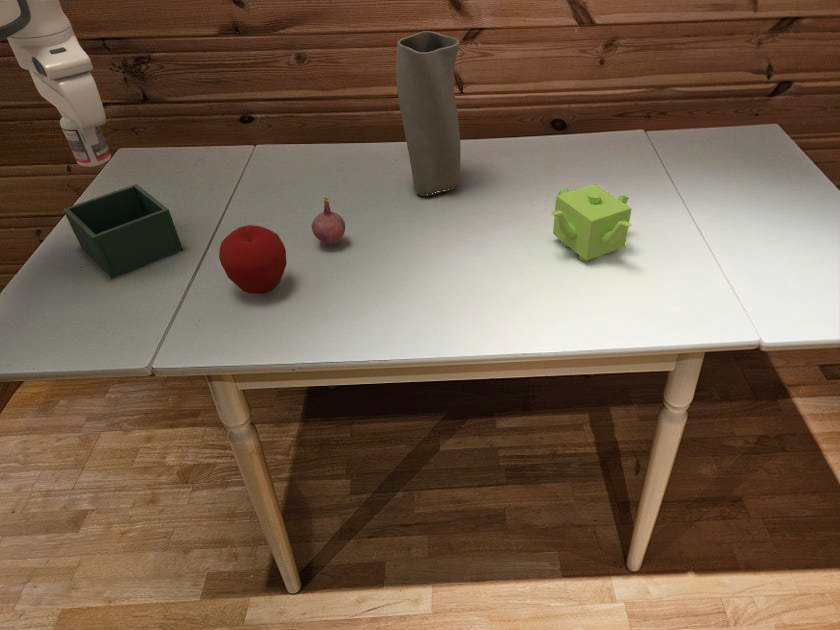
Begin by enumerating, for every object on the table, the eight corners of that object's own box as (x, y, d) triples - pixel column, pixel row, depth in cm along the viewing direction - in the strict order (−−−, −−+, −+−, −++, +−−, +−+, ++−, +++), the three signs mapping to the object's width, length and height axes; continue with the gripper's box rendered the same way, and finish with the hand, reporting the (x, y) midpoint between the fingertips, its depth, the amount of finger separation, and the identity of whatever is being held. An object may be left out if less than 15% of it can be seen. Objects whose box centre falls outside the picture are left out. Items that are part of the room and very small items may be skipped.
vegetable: (351, 249, 125) (344, 202, 118) (319, 256, 123) (310, 208, 116) (343, 233, 129) (336, 187, 122) (312, 240, 127) (303, 193, 120)
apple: (226, 278, 117) (208, 221, 109) (285, 264, 121) (272, 208, 113) (236, 313, 110) (217, 254, 102) (299, 297, 113) (286, 239, 105)
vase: (423, 207, 136) (414, 56, 116) (395, 184, 144) (382, 38, 123) (472, 192, 141) (472, 44, 121) (443, 170, 149) (438, 27, 128)
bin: (111, 279, 117) (92, 237, 111) (82, 249, 124) (62, 208, 118) (183, 249, 124) (168, 209, 118) (151, 223, 131) (136, 183, 125)
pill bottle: (107, 150, 114) (85, 94, 108) (115, 162, 111) (92, 104, 104) (74, 158, 112) (49, 101, 105) (80, 170, 109) (55, 112, 102)
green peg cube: (622, 273, 119) (632, 219, 111) (545, 264, 121) (549, 210, 114) (627, 230, 130) (636, 178, 122) (556, 222, 132) (560, 171, 124)
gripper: (2, 38, 103) (42, 124, 112) (49, 71, 92) (88, 163, 102) (44, 29, 106) (80, 113, 116) (94, 60, 96) (129, 150, 105)
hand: (84, 137), depth 109 cm, fingers closed on pill bottle, 5 cm apart
